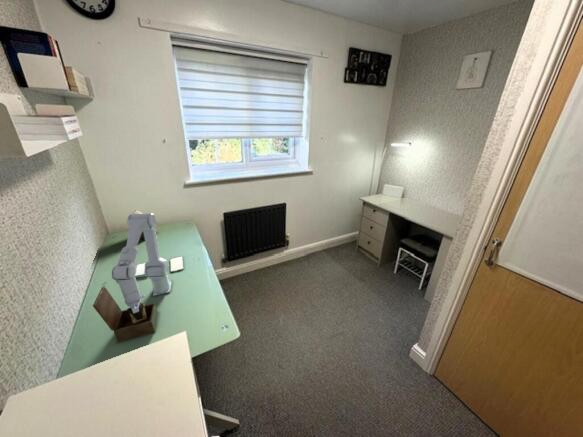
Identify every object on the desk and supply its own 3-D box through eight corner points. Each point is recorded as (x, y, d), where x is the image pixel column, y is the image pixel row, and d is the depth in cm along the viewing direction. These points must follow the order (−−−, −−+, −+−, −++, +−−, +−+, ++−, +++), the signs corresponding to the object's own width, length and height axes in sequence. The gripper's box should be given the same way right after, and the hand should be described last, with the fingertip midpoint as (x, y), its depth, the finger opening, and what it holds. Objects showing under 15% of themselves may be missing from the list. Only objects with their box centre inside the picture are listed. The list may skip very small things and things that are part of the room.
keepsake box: (158, 313, 110) (154, 302, 108) (154, 332, 100) (151, 321, 98) (124, 321, 106) (120, 311, 103) (118, 342, 96) (113, 331, 93)
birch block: (146, 311, 106) (143, 302, 104) (146, 318, 102) (143, 309, 100) (133, 315, 103) (129, 307, 101) (133, 323, 99) (130, 314, 97)
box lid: (104, 285, 97) (102, 286, 96) (94, 305, 87) (92, 305, 87) (121, 309, 103) (119, 310, 103) (114, 330, 93) (111, 331, 93)
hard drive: (149, 273, 135) (152, 261, 146) (132, 276, 132) (137, 264, 143) (149, 275, 136) (153, 263, 146) (133, 278, 133) (137, 266, 144)
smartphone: (182, 256, 153) (183, 268, 141) (182, 256, 153) (183, 269, 141) (170, 258, 150) (170, 271, 138) (170, 259, 150) (170, 272, 138)
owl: (147, 240, 173) (140, 215, 165) (132, 239, 175) (124, 214, 166) (158, 232, 184) (152, 209, 176) (143, 231, 186) (137, 208, 178)
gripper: (143, 296, 93) (152, 321, 99) (139, 277, 104) (147, 300, 109) (122, 303, 89) (132, 329, 95) (120, 283, 100) (129, 307, 106)
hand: (139, 314), depth 102 cm, fingers closed on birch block, 5 cm apart
